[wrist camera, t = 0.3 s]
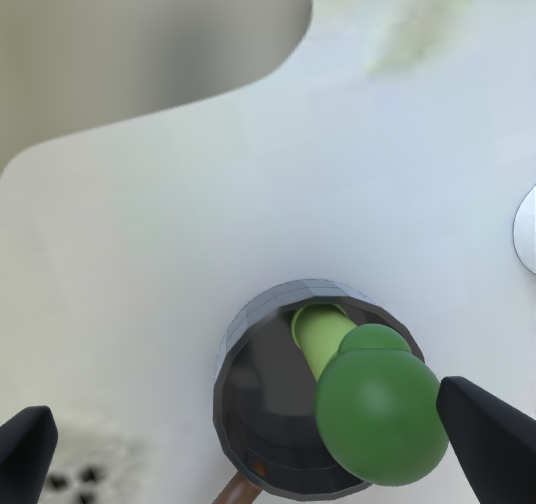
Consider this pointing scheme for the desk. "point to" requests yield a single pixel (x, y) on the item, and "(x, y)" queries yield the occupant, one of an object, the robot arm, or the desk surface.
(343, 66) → the desk surface
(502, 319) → the desk surface
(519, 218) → the pill bottle
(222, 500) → the pan handle
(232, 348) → the pan
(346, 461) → the broccoli
